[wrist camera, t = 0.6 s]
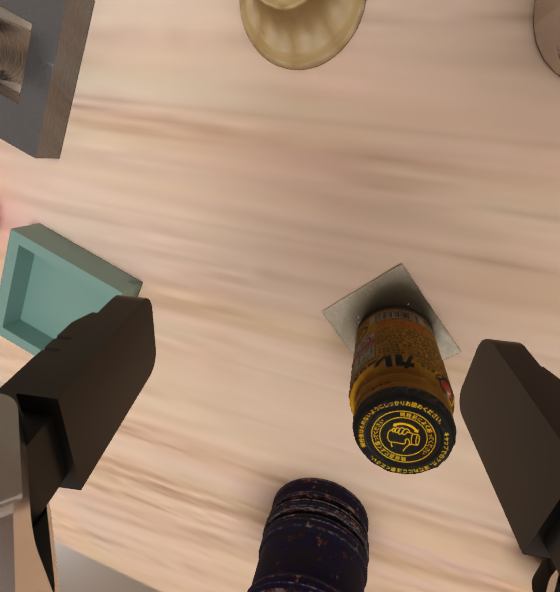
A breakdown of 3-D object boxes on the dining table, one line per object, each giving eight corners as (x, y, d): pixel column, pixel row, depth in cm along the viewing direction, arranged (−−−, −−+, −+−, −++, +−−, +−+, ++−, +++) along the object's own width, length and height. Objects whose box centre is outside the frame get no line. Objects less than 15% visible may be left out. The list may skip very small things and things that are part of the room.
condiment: (379, 389, 33) (381, 505, 22) (322, 310, 32) (294, 390, 21) (460, 350, 30) (509, 459, 19) (401, 262, 29) (417, 324, 18)
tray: (39, 223, 35) (10, 228, 32) (142, 282, 35) (122, 292, 32) (18, 318, 39) (-8, 330, 37) (110, 372, 39) (90, 388, 36)
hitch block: (-22, -62, 28) (-57, -82, 26) (94, 0, 28) (69, -14, 26) (-40, 102, 33) (-71, 98, 31) (59, 158, 33) (35, 158, 30)
